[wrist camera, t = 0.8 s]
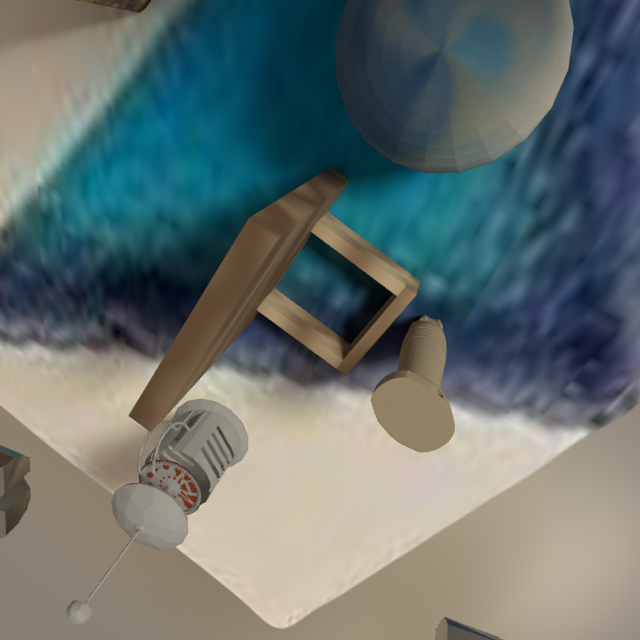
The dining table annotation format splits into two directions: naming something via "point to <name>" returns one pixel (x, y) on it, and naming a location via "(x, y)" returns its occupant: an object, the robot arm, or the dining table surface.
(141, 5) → the book
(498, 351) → the dining table surface
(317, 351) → the cleat board
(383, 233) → the dining table surface
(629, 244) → the dining table surface
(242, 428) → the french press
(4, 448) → the robot arm
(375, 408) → the handle
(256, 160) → the dining table surface
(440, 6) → the decorative ball
